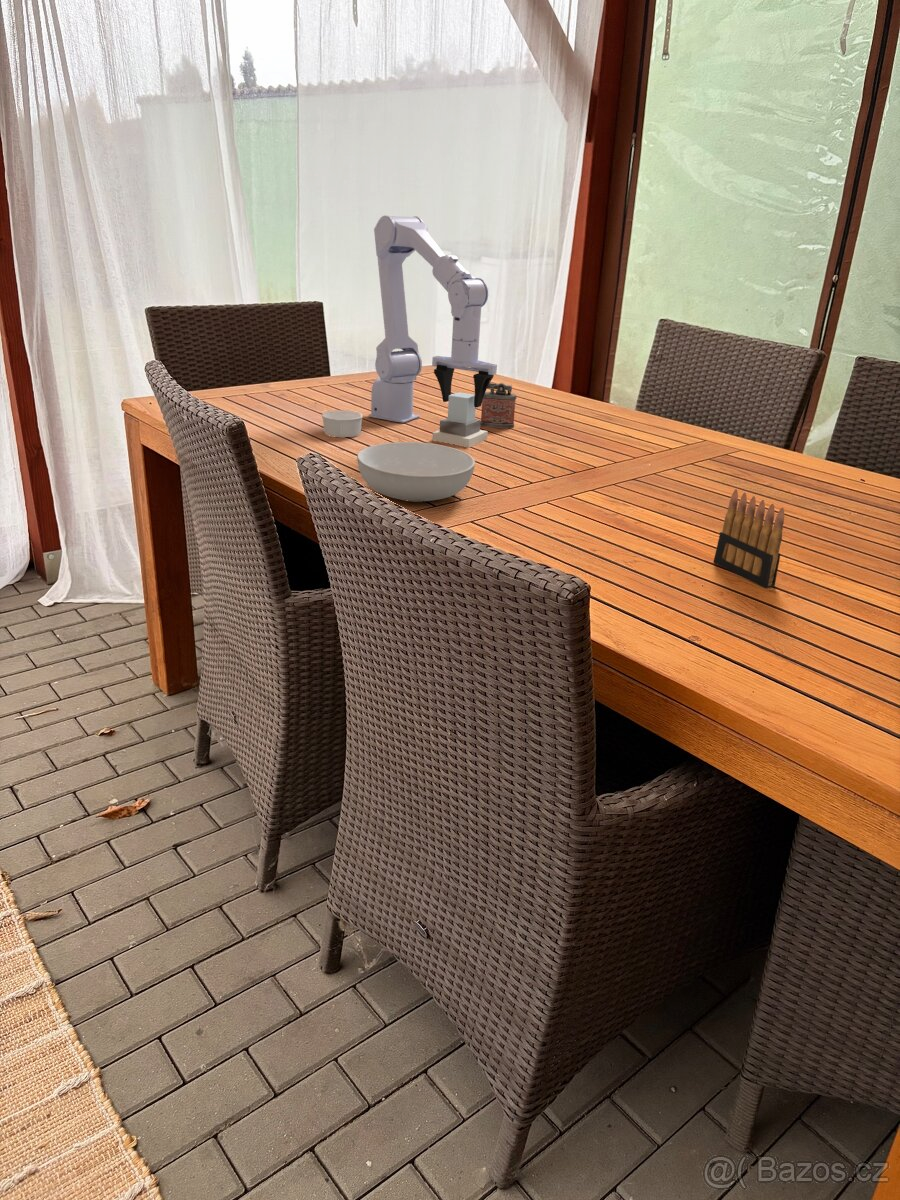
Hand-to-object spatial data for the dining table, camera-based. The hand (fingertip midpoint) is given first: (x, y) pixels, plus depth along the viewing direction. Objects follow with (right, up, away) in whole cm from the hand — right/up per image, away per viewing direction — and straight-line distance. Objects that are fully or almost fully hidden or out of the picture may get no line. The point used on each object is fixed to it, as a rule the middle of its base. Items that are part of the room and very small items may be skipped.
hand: (461, 403), depth 193 cm
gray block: (0, -3, +1) cm, 4 cm away
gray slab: (0, -5, +3) cm, 6 cm away
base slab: (0, -8, +4) cm, 9 cm away
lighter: (+8, -2, +17) cm, 19 cm away
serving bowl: (-9, -24, -32) cm, 41 cm away
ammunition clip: (+41, -39, -59) cm, 82 cm away
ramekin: (-26, -6, +3) cm, 27 cm away
